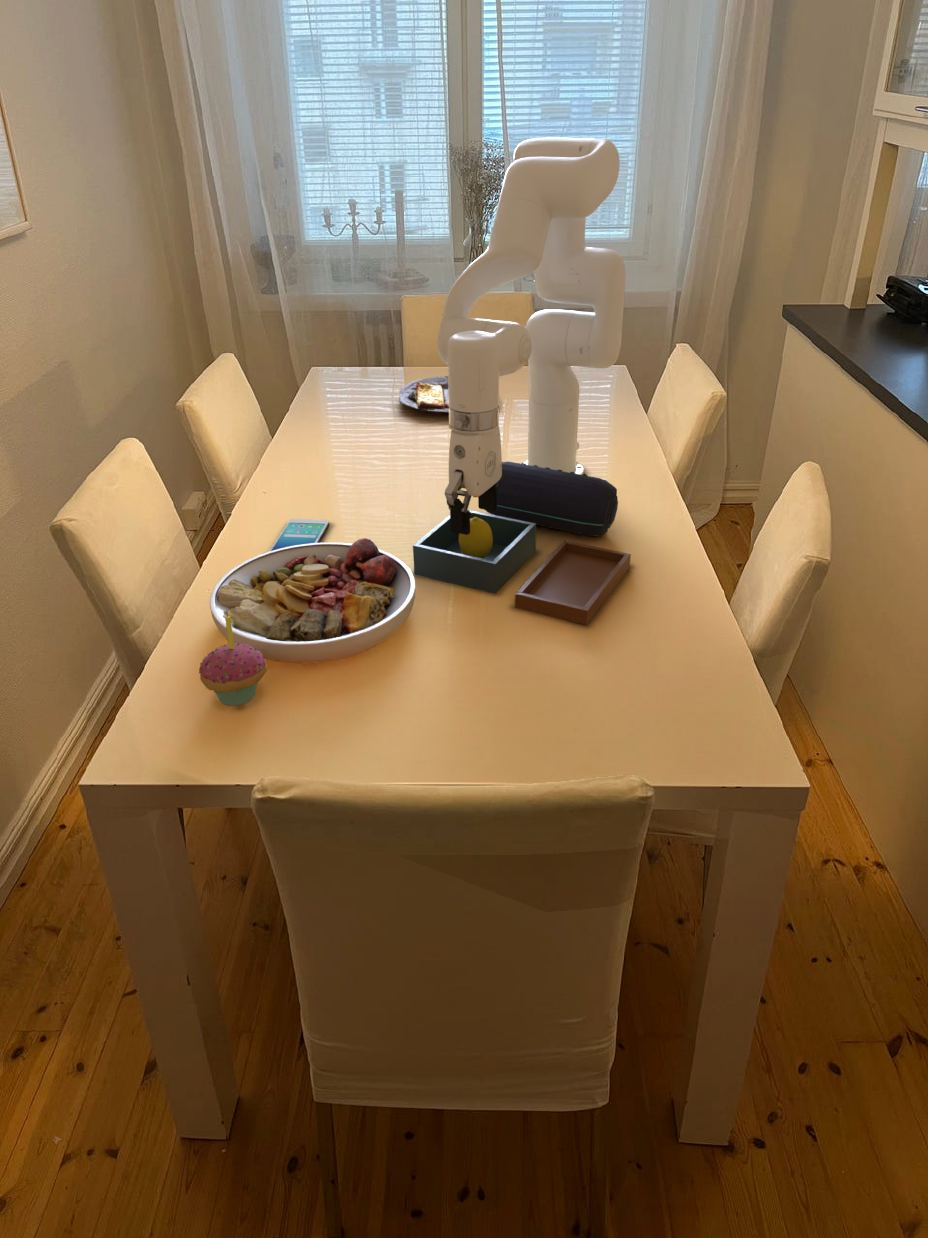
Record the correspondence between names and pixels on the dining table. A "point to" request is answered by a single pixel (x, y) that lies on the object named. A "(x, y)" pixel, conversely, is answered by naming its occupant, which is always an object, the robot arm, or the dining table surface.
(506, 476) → the portable speaker
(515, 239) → the robot arm
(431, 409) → the food plate
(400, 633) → the dining table surface
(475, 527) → the lemon
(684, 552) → the dining table surface
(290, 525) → the smartphone
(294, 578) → the bowl
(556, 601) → the tray
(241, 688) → the cupcake
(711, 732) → the dining table surface
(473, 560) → the blue open storage box
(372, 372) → the dining table surface
